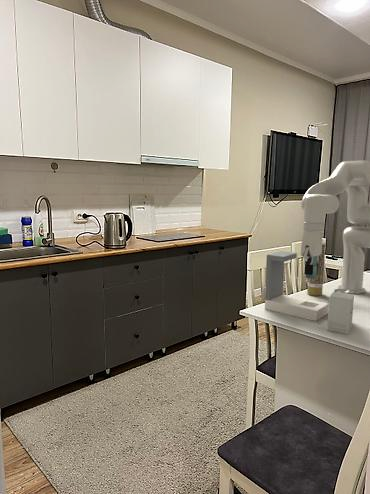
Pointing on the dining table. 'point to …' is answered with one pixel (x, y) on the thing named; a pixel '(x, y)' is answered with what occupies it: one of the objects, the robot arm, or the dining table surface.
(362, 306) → the dining table surface
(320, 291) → the paper tube
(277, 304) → the socket block
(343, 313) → the supplement box
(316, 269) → the peg
